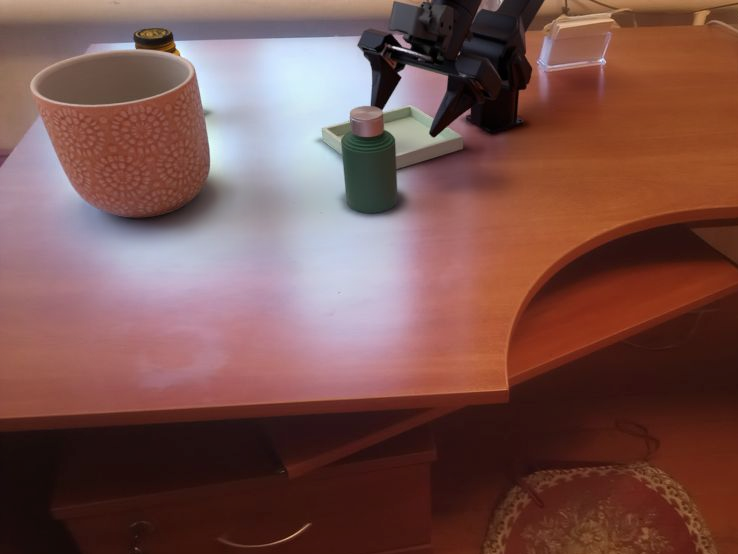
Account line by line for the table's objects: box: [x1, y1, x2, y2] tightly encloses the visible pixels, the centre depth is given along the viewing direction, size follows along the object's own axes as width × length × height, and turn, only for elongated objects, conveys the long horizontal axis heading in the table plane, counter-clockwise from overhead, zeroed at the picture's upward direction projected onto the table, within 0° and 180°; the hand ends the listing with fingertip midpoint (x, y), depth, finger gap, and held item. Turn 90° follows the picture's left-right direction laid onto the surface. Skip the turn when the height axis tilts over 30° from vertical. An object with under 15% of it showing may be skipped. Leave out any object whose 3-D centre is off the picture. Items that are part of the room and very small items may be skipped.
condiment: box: [132, 27, 206, 114], centre depth 104 cm, size 7×8×12 cm
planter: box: [29, 48, 211, 219], centre depth 85 cm, size 17×17×15 cm
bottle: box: [341, 130, 398, 214], centre depth 88 cm, size 6×6×11 cm
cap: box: [349, 105, 384, 137], centre depth 84 cm, size 4×4×2 cm
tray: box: [320, 104, 464, 170], centre depth 102 cm, size 15×13×2 cm
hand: (401, 126), depth 90 cm, fingers open, 9 cm apart
